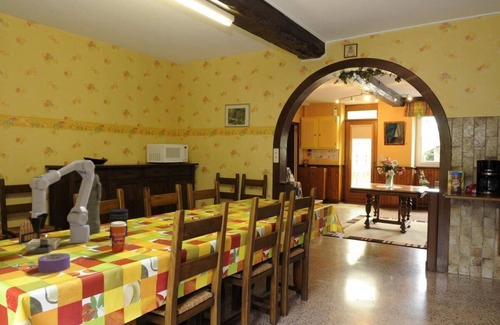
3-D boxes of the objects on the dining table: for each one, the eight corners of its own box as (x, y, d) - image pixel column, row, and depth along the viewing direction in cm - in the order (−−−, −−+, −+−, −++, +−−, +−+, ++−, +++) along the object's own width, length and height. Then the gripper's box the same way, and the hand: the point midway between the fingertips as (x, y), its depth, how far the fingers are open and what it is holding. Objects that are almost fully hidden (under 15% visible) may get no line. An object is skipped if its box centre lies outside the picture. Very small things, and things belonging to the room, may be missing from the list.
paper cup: (110, 253, 172) (110, 224, 171) (108, 249, 178) (109, 221, 178) (127, 251, 175) (128, 223, 175) (125, 248, 182) (125, 220, 182)
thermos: (96, 234, 209) (96, 174, 208) (78, 233, 211) (78, 174, 210) (105, 231, 218) (105, 174, 217) (88, 230, 220) (88, 173, 219)
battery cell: (48, 248, 175) (48, 232, 175) (46, 249, 172) (46, 234, 172) (41, 248, 175) (41, 233, 174) (39, 250, 171) (39, 234, 171)
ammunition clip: (21, 244, 186) (21, 221, 186) (18, 243, 187) (18, 220, 187) (40, 239, 196) (40, 217, 196) (37, 239, 197) (37, 217, 197)
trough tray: (60, 243, 188) (60, 238, 188) (55, 249, 178) (55, 243, 178) (32, 245, 185) (32, 239, 185) (25, 250, 175) (25, 244, 175)
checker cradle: (52, 249, 177) (52, 244, 177) (48, 252, 171) (48, 247, 171) (32, 250, 175) (32, 245, 175) (27, 253, 169) (27, 248, 169)
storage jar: (105, 236, 205) (105, 210, 205) (118, 233, 214) (118, 208, 214) (119, 238, 202) (119, 212, 201) (131, 234, 211) (131, 209, 210)
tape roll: (32, 269, 148) (32, 257, 148) (59, 262, 158) (59, 251, 158) (48, 275, 142) (48, 262, 142) (75, 267, 152) (75, 255, 151)
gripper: (35, 200, 181) (35, 227, 181) (24, 204, 167) (24, 233, 167) (50, 200, 183) (50, 226, 183) (41, 204, 169) (41, 233, 169)
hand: (39, 230), depth 175 cm, fingers open, 7 cm apart
